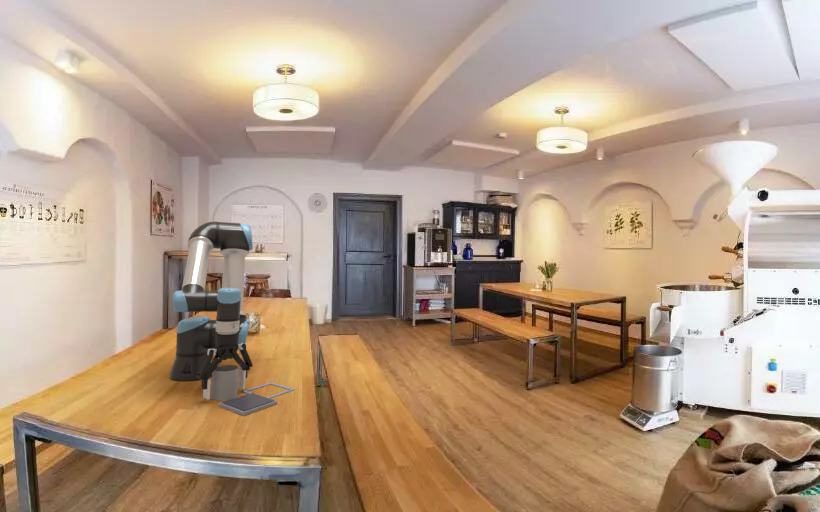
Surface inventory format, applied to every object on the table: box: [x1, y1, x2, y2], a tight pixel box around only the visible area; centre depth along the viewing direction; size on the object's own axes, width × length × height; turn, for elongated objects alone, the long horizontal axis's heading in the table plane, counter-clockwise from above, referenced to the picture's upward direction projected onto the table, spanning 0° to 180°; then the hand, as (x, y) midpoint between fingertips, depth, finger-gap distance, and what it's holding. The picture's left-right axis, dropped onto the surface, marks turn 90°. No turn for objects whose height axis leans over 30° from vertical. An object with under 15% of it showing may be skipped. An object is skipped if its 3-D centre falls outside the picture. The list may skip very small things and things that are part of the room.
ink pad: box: [218, 392, 278, 417], centre depth 135 cm, size 13×13×1 cm
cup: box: [210, 364, 240, 402], centre depth 142 cm, size 8×8×10 cm
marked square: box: [241, 382, 295, 399], centre depth 149 cm, size 13×13×1 cm
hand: (224, 393), depth 142 cm, fingers open, 13 cm apart
